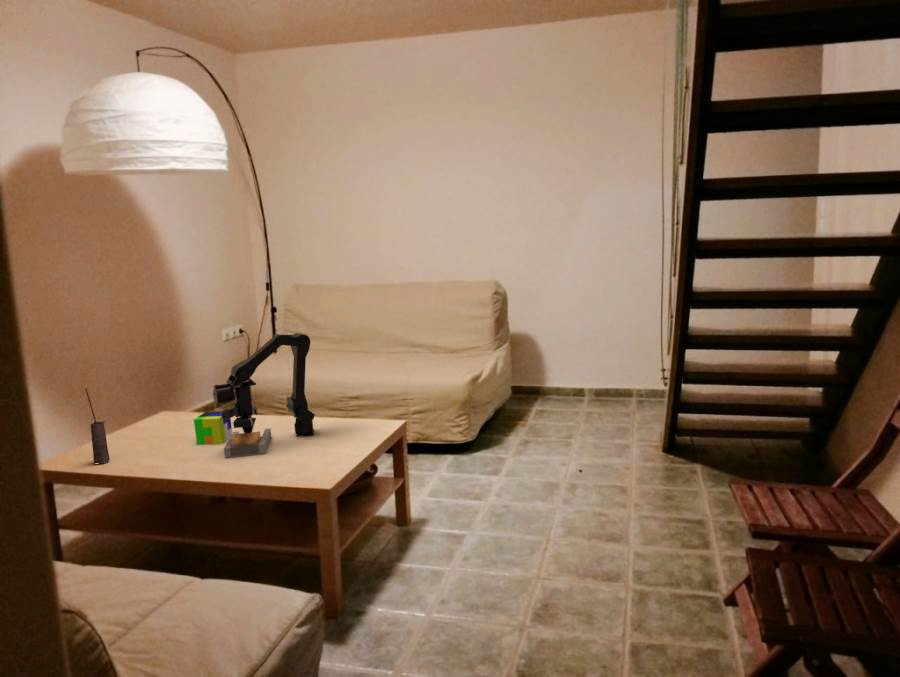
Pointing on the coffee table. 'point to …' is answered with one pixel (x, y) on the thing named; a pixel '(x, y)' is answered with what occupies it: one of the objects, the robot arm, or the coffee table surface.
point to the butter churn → (98, 439)
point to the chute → (248, 446)
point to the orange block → (246, 438)
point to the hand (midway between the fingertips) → (248, 438)
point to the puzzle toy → (212, 428)
